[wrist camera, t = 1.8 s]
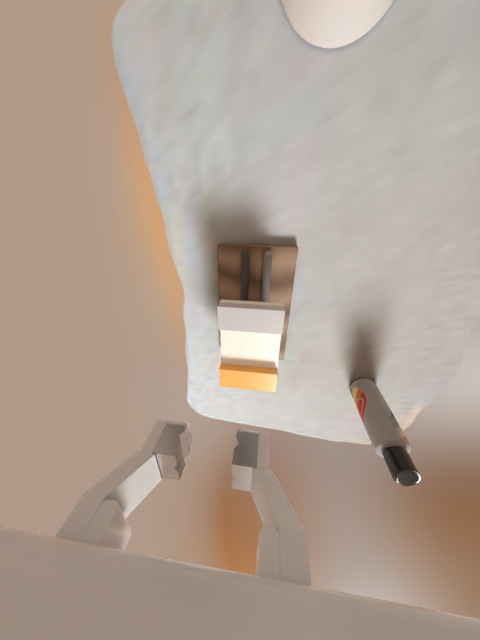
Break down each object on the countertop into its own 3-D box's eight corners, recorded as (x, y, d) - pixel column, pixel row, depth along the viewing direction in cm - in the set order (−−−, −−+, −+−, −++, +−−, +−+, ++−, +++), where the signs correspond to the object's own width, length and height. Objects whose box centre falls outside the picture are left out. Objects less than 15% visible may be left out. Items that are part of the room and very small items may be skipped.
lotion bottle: (345, 392, 53) (381, 486, 36) (355, 375, 51) (399, 467, 33) (368, 398, 53) (416, 494, 36) (380, 380, 50) (437, 475, 33)
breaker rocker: (220, 299, 36) (217, 306, 33) (284, 303, 34) (285, 311, 32) (223, 375, 43) (220, 386, 41) (275, 380, 42) (275, 392, 40)
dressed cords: (241, 248, 39) (240, 250, 38) (272, 249, 39) (272, 251, 37) (240, 314, 45) (239, 317, 44) (267, 316, 45) (267, 319, 44)
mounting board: (219, 243, 41) (217, 244, 39) (297, 246, 39) (298, 247, 38) (222, 350, 52) (221, 354, 51) (283, 355, 51) (283, 359, 49)
